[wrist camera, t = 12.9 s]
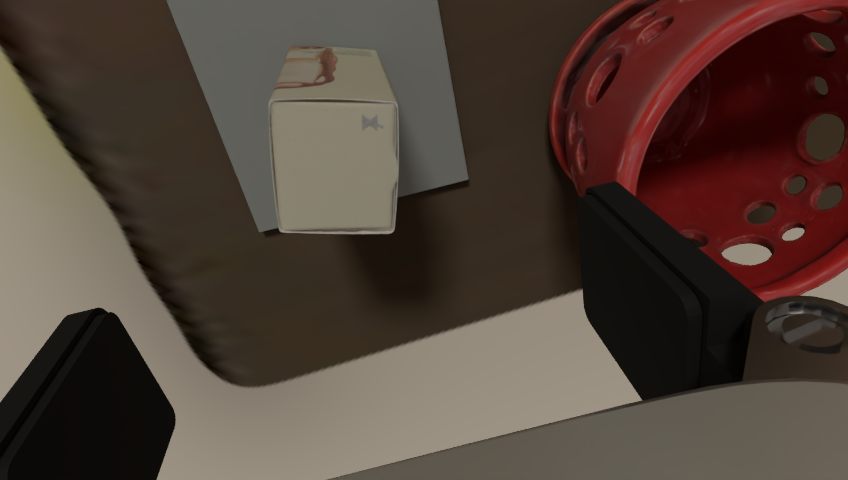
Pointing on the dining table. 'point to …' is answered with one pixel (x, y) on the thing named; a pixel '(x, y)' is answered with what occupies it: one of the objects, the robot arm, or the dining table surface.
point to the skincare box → (334, 143)
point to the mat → (325, 27)
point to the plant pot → (714, 125)
